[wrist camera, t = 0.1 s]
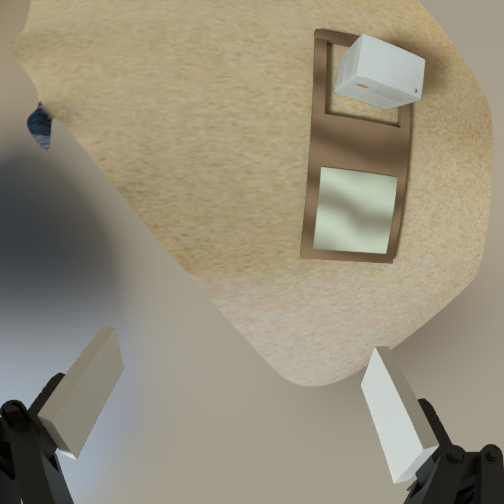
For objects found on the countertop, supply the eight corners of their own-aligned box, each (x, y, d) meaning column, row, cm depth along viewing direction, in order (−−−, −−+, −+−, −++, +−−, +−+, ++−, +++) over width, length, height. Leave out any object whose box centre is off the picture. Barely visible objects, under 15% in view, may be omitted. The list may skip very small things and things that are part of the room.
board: (314, 32, 31) (316, 28, 30) (406, 52, 31) (410, 50, 29) (299, 255, 41) (301, 258, 40) (389, 260, 41) (392, 263, 40)
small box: (391, 76, 32) (427, 59, 22) (385, 111, 34) (423, 101, 24) (338, 58, 32) (362, 31, 22) (332, 93, 34) (356, 74, 24)
